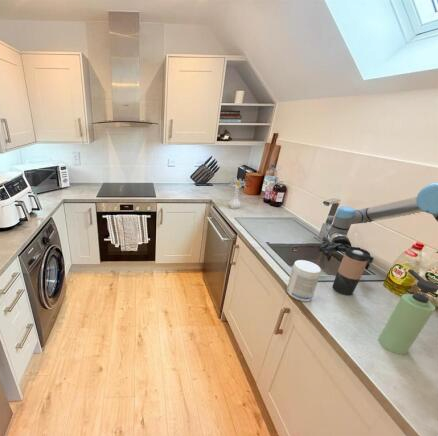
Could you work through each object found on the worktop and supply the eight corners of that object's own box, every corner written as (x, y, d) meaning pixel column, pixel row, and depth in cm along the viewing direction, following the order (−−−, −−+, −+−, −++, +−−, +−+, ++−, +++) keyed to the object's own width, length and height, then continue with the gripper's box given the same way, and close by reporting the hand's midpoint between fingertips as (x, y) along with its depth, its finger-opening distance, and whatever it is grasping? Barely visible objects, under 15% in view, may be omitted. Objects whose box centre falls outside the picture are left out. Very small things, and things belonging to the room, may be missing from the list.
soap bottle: (402, 341, 80) (432, 293, 72) (410, 358, 75) (443, 308, 66) (375, 333, 84) (401, 286, 75) (381, 348, 78) (409, 299, 70)
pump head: (437, 298, 68) (442, 290, 67) (419, 295, 69) (424, 286, 68) (414, 277, 76) (419, 270, 75) (399, 275, 78) (403, 267, 76)
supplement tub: (317, 300, 99) (328, 271, 93) (298, 304, 96) (308, 275, 90) (298, 285, 107) (307, 258, 101) (280, 289, 105) (288, 261, 99)
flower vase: (236, 203, 207) (241, 175, 197) (245, 211, 190) (251, 181, 181) (222, 203, 207) (226, 175, 197) (229, 211, 190) (234, 181, 180)
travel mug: (356, 297, 100) (374, 257, 92) (334, 293, 102) (350, 254, 94) (349, 286, 106) (365, 248, 98) (329, 282, 109) (343, 245, 101)
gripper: (368, 254, 118) (381, 278, 101) (310, 242, 129) (312, 261, 112) (374, 241, 115) (388, 263, 98) (313, 230, 126) (317, 248, 109)
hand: (347, 262), depth 105 cm, fingers open, 13 cm apart
